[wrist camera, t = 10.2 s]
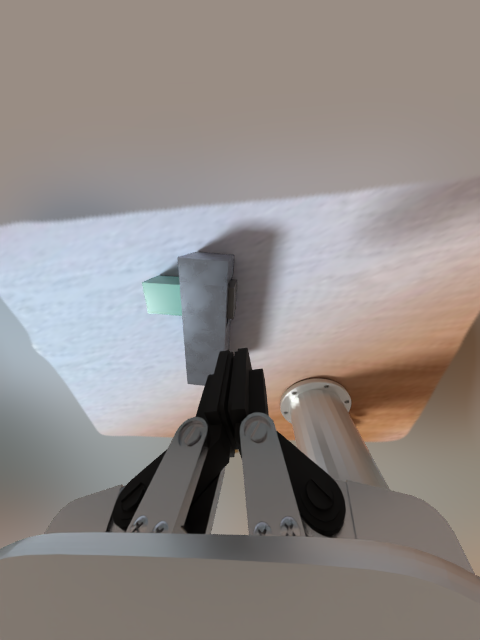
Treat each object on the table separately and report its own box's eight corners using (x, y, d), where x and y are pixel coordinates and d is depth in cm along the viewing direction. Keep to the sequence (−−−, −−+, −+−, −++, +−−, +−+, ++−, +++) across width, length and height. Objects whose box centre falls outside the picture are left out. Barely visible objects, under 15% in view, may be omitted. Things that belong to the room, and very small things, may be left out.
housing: (234, 255, 22) (228, 261, 17) (228, 359, 30) (222, 387, 24) (195, 251, 22) (177, 257, 17) (199, 357, 30) (187, 383, 25)
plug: (236, 280, 24) (234, 288, 20) (235, 307, 26) (233, 319, 22) (157, 275, 24) (140, 282, 21) (161, 302, 26) (147, 313, 22)
